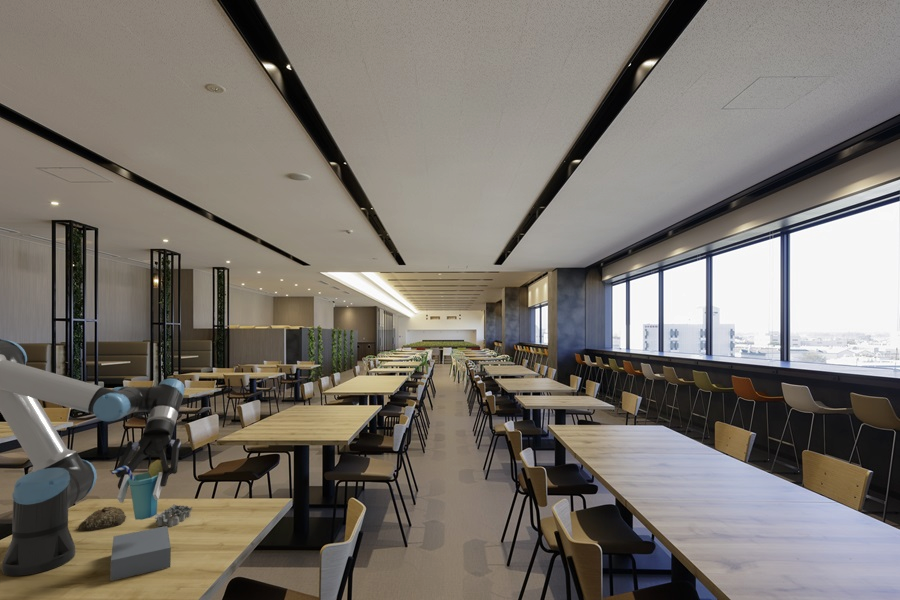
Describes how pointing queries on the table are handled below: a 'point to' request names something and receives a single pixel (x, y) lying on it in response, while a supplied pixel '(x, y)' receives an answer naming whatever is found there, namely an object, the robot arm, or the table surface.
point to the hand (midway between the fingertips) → (138, 498)
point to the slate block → (140, 552)
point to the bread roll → (103, 519)
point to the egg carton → (176, 511)
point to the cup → (143, 490)
